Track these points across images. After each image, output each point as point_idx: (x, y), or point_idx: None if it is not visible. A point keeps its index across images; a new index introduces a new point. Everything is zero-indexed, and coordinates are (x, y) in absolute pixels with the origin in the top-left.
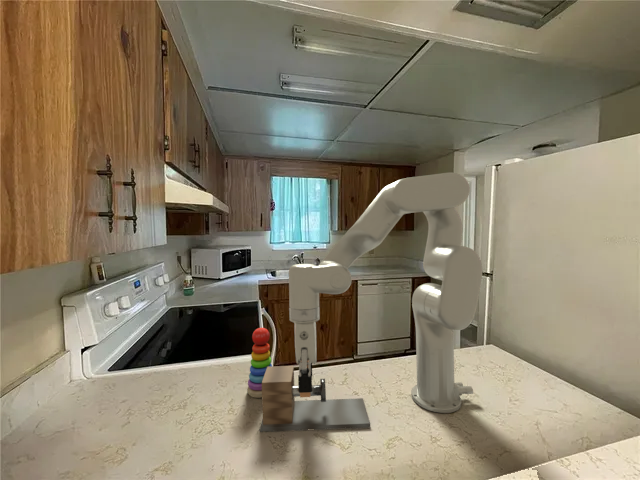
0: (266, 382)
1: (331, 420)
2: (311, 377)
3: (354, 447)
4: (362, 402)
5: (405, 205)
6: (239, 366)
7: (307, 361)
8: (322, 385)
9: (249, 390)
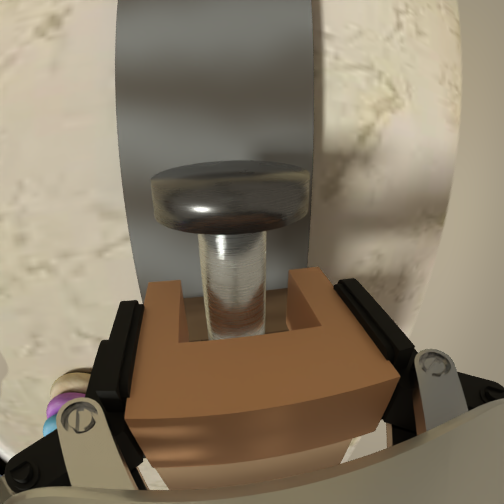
0: None
1: (285, 128)
2: (407, 338)
3: (392, 67)
4: None
5: None
6: (16, 442)
7: (156, 436)
8: (295, 207)
9: None
